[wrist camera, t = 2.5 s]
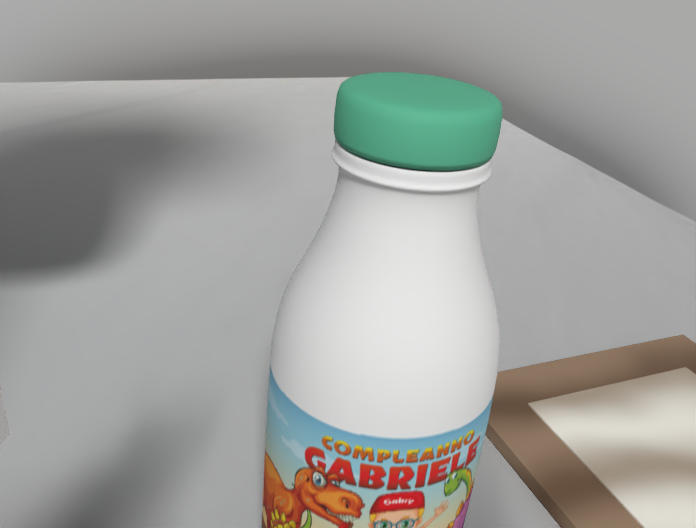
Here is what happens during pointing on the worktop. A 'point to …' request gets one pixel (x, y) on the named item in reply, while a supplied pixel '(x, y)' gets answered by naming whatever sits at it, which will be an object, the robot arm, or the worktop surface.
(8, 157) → the worktop surface
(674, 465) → the writing board
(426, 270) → the milk bottle
